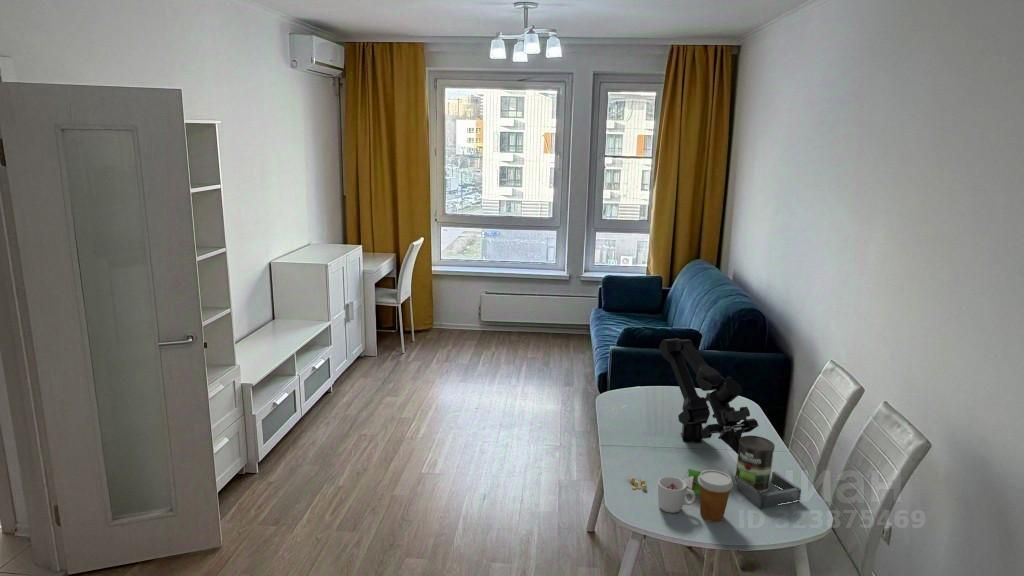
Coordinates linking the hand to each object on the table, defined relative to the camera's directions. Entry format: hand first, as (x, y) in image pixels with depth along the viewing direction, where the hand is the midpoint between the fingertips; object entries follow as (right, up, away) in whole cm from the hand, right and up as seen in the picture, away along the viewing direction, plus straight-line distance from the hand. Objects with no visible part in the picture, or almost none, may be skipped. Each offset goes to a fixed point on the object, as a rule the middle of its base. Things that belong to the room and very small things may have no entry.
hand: (739, 453), depth 212 cm
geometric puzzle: (-17, -9, -10) cm, 22 cm away
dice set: (-34, -9, -8) cm, 35 cm away
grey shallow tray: (+4, -10, -11) cm, 16 cm away
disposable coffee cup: (-16, -12, -23) cm, 30 cm away
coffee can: (+2, -8, -5) cm, 10 cm away
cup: (-26, -11, -20) cm, 34 cm away
